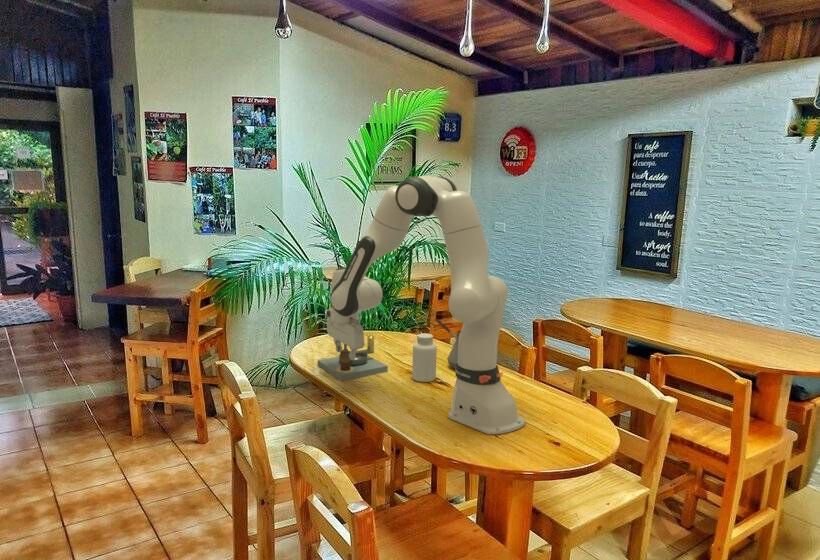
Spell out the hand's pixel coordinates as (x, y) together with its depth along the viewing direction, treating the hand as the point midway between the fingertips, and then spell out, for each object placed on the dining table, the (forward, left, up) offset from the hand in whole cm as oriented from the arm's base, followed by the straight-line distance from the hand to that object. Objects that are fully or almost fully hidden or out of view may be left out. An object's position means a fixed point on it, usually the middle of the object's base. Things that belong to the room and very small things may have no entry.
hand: (345, 355), depth 190 cm
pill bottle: (-15, -21, -8) cm, 27 cm away
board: (+6, -5, -7) cm, 11 cm away
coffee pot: (-8, -39, -8) cm, 41 cm away
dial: (+7, -8, -5) cm, 12 cm away
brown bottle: (0, 0, -5) cm, 5 cm away
